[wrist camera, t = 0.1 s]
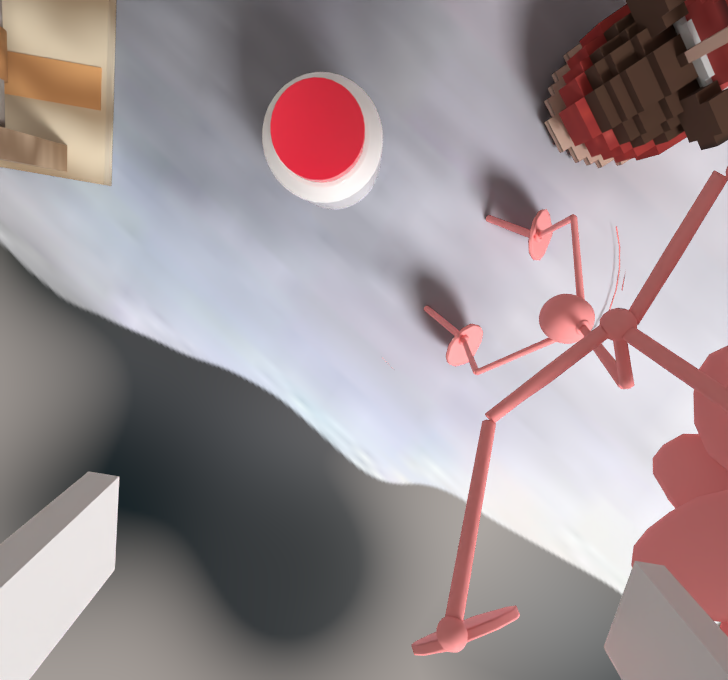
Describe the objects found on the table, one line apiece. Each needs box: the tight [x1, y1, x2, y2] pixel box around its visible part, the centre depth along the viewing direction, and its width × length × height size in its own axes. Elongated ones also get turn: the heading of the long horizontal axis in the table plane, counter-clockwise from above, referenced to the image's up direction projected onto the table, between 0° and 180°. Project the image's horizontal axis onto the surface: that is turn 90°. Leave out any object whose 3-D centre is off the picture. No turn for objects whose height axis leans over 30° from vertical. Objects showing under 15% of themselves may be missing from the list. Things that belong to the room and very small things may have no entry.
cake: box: [544, 0, 728, 168], centre depth 26 cm, size 11×9×18 cm
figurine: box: [412, 167, 728, 655], centre depth 22 cm, size 15×26×35 cm, turn 147°
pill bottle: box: [262, 72, 383, 209], centre depth 31 cm, size 8×8×11 cm
